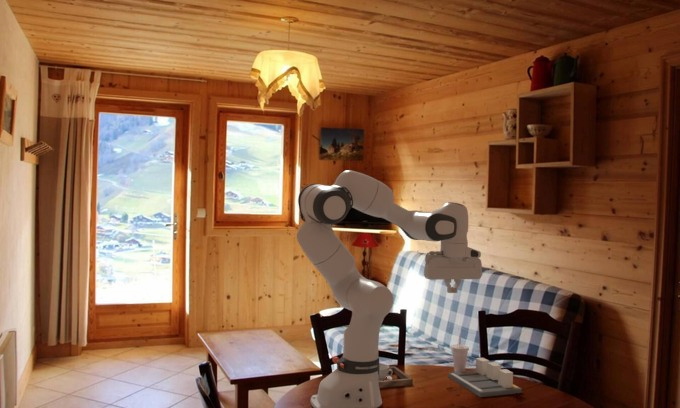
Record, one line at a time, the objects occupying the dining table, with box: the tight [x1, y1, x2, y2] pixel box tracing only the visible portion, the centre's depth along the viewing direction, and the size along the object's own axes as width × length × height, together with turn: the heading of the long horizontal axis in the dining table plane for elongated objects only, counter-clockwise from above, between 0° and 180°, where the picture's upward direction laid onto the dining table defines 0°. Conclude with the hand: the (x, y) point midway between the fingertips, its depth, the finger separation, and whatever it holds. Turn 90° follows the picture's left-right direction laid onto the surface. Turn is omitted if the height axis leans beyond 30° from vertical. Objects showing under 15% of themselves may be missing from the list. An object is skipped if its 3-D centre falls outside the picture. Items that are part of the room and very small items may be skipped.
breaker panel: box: [447, 357, 523, 398], centre depth 192 cm, size 16×21×7 cm
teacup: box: [378, 362, 394, 381], centre depth 196 cm, size 10×10×5 cm
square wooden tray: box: [379, 366, 414, 389], centre depth 195 cm, size 15×15×2 cm
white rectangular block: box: [487, 361, 502, 380], centre depth 193 cm, size 3×4×5 cm
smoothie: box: [451, 334, 470, 373], centre depth 206 cm, size 6×6×14 cm
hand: (452, 292), depth 183 cm, fingers closed
